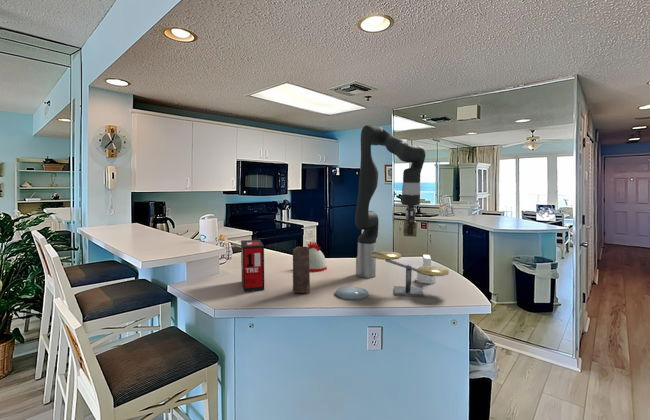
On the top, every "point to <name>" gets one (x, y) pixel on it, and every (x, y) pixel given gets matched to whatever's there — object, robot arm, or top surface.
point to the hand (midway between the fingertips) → (409, 233)
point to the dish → (352, 293)
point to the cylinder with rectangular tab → (426, 278)
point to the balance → (409, 273)
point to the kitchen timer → (316, 258)
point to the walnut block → (405, 231)
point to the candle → (301, 270)
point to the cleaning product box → (252, 265)
